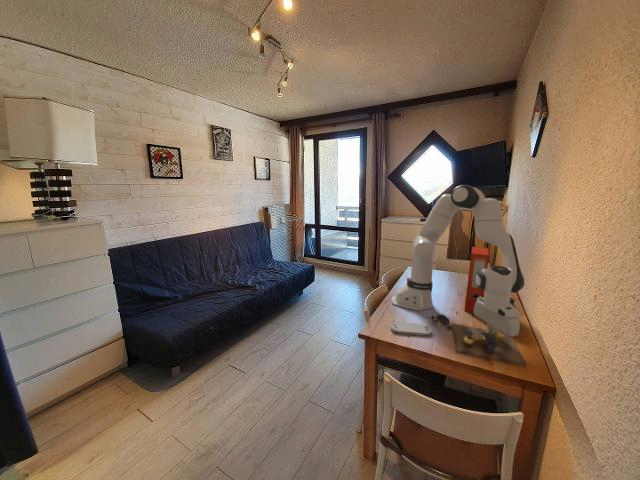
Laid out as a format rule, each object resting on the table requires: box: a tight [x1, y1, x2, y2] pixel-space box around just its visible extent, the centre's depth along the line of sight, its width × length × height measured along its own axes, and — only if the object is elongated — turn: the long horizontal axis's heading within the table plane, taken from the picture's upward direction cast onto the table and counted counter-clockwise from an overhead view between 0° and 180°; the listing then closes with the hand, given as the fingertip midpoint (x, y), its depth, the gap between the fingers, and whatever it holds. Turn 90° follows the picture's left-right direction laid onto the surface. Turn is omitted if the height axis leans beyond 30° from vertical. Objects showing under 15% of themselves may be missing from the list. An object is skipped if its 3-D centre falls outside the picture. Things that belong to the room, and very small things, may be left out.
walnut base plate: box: [451, 323, 526, 367], centre depth 112 cm, size 23×22×2 cm
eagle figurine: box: [429, 312, 452, 330], centre depth 127 cm, size 8×7×9 cm
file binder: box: [464, 246, 490, 314], centre depth 144 cm, size 8×17×32 cm, turn 149°
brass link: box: [463, 331, 506, 346], centre depth 111 cm, size 18×4×5 cm, turn 100°
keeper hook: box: [482, 332, 498, 355], centre depth 106 cm, size 4×7×5 cm, turn 158°
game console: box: [390, 321, 433, 337], centre depth 123 cm, size 18×2×8 cm
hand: (492, 334), depth 115 cm, fingers closed
